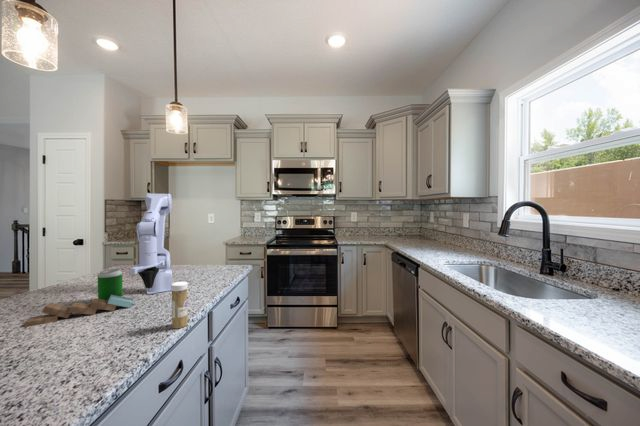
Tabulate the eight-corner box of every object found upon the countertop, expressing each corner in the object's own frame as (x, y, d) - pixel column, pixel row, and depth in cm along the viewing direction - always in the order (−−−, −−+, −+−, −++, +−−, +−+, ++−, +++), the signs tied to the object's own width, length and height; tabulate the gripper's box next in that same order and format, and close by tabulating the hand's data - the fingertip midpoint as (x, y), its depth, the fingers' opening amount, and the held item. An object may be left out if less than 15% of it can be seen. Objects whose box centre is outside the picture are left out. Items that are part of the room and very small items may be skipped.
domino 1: (60, 312, 88) (30, 317, 84) (56, 316, 84) (25, 322, 80) (60, 318, 88) (30, 323, 84) (56, 322, 84) (25, 328, 80)
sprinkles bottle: (185, 328, 80) (185, 284, 79) (169, 329, 79) (168, 285, 78) (189, 321, 84) (189, 280, 84) (174, 323, 83) (173, 281, 83)
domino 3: (98, 305, 93) (73, 302, 90) (97, 308, 90) (70, 306, 86) (96, 310, 93) (70, 308, 89) (94, 314, 90) (68, 312, 86)
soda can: (127, 298, 105) (126, 269, 105) (106, 305, 98) (105, 274, 97) (114, 296, 107) (113, 268, 107) (93, 303, 100) (92, 272, 100)
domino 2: (75, 308, 91) (51, 302, 88) (71, 312, 87) (45, 306, 84) (72, 314, 90) (47, 308, 87) (67, 318, 86) (41, 312, 83)
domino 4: (117, 301, 97) (94, 298, 93) (116, 305, 93) (92, 301, 89) (114, 307, 96) (91, 303, 93) (114, 310, 93) (89, 307, 89)
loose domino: (132, 299, 100) (111, 294, 96) (132, 302, 96) (110, 297, 92) (129, 304, 99) (108, 299, 95) (129, 307, 96) (107, 303, 92)
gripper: (153, 249, 108) (154, 281, 108) (122, 256, 93) (123, 293, 94) (168, 249, 107) (169, 282, 107) (139, 256, 92) (140, 294, 93)
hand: (148, 287), depth 100 cm, fingers closed
